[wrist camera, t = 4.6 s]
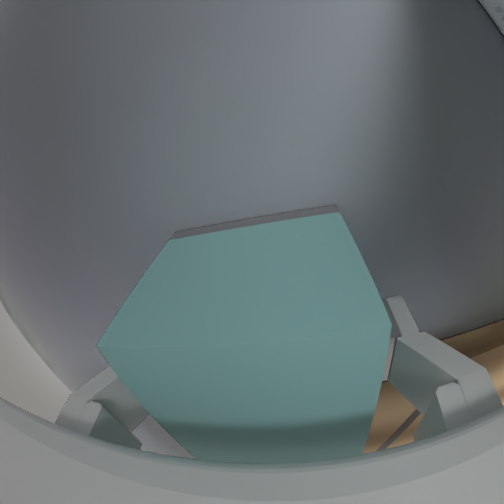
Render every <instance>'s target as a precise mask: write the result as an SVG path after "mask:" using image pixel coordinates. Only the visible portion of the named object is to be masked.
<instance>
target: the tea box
mask: <svg viewBox="0 0 504 504" xmlns="http://www.w3.org/2000/svg"><path fill="white" fill-rule="evenodd" d="M479 1H480V3H481V4H482V5H483V6H484V8H485V9H486V10H487V12H488V13H489V15H490V16H491V17H492V19H493V20H494V22H495V23H496V25H497V26H498V28H499V29H500V31H501V32H502V34H503V35H504V0H479Z"/></svg>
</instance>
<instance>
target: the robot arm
mask: <svg viewBox="0 0 504 504" xmlns="http://www.w3.org/2000/svg"><path fill="white" fill-rule="evenodd" d="M382 302H383V304H384V306H385V309H386V311H387V314H388V316H389V319H390V321H391V324H392V326H391V334H390V340H389V347H388V353H387V358H386V364H385V369H384V374H383V379H382V381H385V380H388V382H389V383H390V384H391V385H392V386H393V387H394V388H395V389H397V390H398V391H399V392H400V393H401V394H402V395H403V396H404V397H405V398H406V399H407V400H408V401H409V402H410V403H411V404H412V405H413V406H414V407H415V408H416V409H417V410H418V411H420V412H421V413H422V414H423V415H424V416H423V418H422V420H421V421H420V423H419V425H418V427H417V428H416V430H415V432H414V433H413V438H414V442H412V443H408V444H404V445H401V446H397V447H393V448H388V449H384V450H380V451H375V452H370V453H365V454H360V455H354V456H348V457H341V458H334V459H325V460H316V461H304V462H288V463H234V462H218V461H207V460H197V459H189V458H182V457H175V456H169V455H163V454H157V453H152V452H147V451H143V450H140V448H141V445H142V444H141V442H140V440H139V439H137V438H136V437H135V436H134V435H133V434H132V432H133V430H134V429H135V428H136V427H137V426H138V425H139V424H140V423H141V422H142V421H143V420H144V419H145V418H146V417H147V416H148V415H149V414H150V413H149V412H148V411H147V410H146V409H145V408H144V407H143V406H142V404H141V403H140V402H139V401H138V400H137V399H136V398H135V396H134V395H133V394H132V393H131V392H130V390H129V389H128V388H127V387H126V386H125V384H124V383H123V382H122V381H121V379H120V378H119V377H118V376H117V374H116V373H115V372H114V370H113V369H112V368H111V367H110V366H108V367H107V368H106V369H104V370H103V371H102V372H100V373H99V374H98V375H96V376H95V377H93V378H92V379H91V380H89V381H88V382H87V383H85V384H84V385H83V386H81V387H80V388H78V389H77V390H76V391H74V392H73V393H72V394H70V396H69V397H68V399H67V401H66V403H65V405H64V407H63V408H62V410H61V412H60V414H59V416H58V418H57V420H56V422H55V423H53V422H50V421H48V420H46V419H43V418H41V417H39V416H37V415H34V414H32V413H30V412H28V411H26V410H24V409H22V408H20V407H18V406H16V405H14V404H12V403H10V402H9V401H7V400H5V399H3V398H1V397H0V504H504V406H503V404H502V402H501V400H500V397H499V395H498V393H497V390H496V388H495V386H494V384H493V382H492V380H491V378H490V375H489V373H488V371H487V369H486V368H484V367H483V366H481V365H480V364H478V363H476V362H475V361H473V360H471V359H470V358H468V357H467V356H465V355H463V354H462V353H460V352H458V351H457V350H455V349H453V348H452V347H450V346H448V345H447V344H445V343H443V342H442V341H440V340H438V339H437V338H435V337H433V336H432V335H430V334H428V333H427V332H425V331H424V332H420V331H419V329H418V327H417V325H416V323H415V321H414V319H413V317H412V315H411V313H410V311H409V309H408V307H407V305H406V303H405V301H404V299H403V297H402V296H401V295H397V296H393V297H388V298H384V299H382Z"/></svg>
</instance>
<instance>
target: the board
mask: <svg viewBox="0 0 504 504" xmlns="http://www.w3.org/2000/svg"><path fill="white" fill-rule="evenodd" d="M440 341H442V342H443V343H445V344H447V345H448V346H450V347H452V348H453V349H455V350H457V351H458V352H460V353H462V354H463V355H465V356H467V357H468V358H470V359H471V360H473V361H475V362H476V363H478V364H480V365H481V366H483V367H484V368H486V369H487V371H488V373H489V375H490V378H491V380H492V382H493V384H494V386H495V388H496V390H497V393H498V395H499V397H500V400H501V402H502V404H503V406H504V319H503V320H500V321H498V322H495V323H492V324H490V325H487V326H484V327H481V328H478V329H476V330H473V331H470V332H467V333H463V334H460V335H457V336H454V337H450V338H447V339H444V340H440ZM423 416H424V415H423V414H422V413H421V412H420V411H418V410H417V409H416V408H415V407H414V406H413V405H412V404H411V403H410V402H409V401H408V400H407V399H406V398H405V397H404V396H403V395H402V394H401V393H400V392H399V391H398V390H397V389H395V388H394V387H393V386H392V385H391V384H390V383H389V382H388V380H385V381H382V383H381V388H380V392H379V397H378V401H377V405H376V409H375V413H374V417H373V420H372V424H371V427H370V431H369V434H368V438H367V441H366V444H365V447H364V450H363V453H362V454H365V453H370V452H375V451H380V450H384V449H388V448H393V447H397V446H401V445H404V444H408V443H412V442H414V438H413V433H414V432H415V430H416V428H417V427H418V425H419V423H420V421H421V420H422V418H423Z"/></svg>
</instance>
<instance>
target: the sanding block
mask: <svg viewBox="0 0 504 504" xmlns="http://www.w3.org/2000/svg"><path fill="white" fill-rule="evenodd" d="M391 326H392V324H391V321H390V319H389V316H388V314H387V311H386V309H385V306H384V304H383V302H382V299H381V297H380V295H379V292H378V290H377V288H376V286H375V283H374V281H373V279H372V277H371V274H370V272H369V270H368V268H367V266H366V264H365V261H364V259H363V257H362V255H361V253H360V251H359V249H358V247H357V245H356V243H355V241H354V239H353V237H352V235H351V233H350V231H349V229H348V227H347V225H346V223H345V221H344V219H343V217H342V215H341V214H340V212H339V210H338V208H337V206H336V205H330V206H324V207H317V208H310V209H304V210H297V211H291V212H285V213H278V214H272V215H266V216H260V217H254V218H249V219H243V220H237V221H231V222H226V223H220V224H215V225H209V226H204V227H199V228H193V229H188V230H183V231H178V232H175V233H174V234H173V236H172V237H171V238H170V240H169V241H168V242H167V244H166V245H165V246H164V248H163V249H162V250H161V252H160V253H159V254H158V256H157V257H156V258H155V260H154V261H153V262H152V264H151V265H150V267H149V268H148V269H147V271H146V272H145V273H144V275H143V276H142V278H141V279H140V281H139V282H138V283H137V285H136V286H135V288H134V289H133V291H132V292H131V293H130V295H129V296H128V298H127V299H126V301H125V302H124V304H123V305H122V307H121V308H120V310H119V311H118V313H117V314H116V316H115V317H114V319H113V320H112V322H111V323H110V325H109V326H108V328H107V329H106V331H105V332H104V334H103V336H102V337H101V339H100V340H99V342H98V344H97V345H96V347H97V349H98V350H99V352H100V353H101V354H102V356H103V357H104V358H105V360H106V361H107V363H108V364H109V365H110V367H111V368H112V369H113V370H114V372H115V373H116V374H117V376H118V377H119V378H120V379H121V381H122V382H123V383H124V384H125V386H126V387H127V388H128V389H129V390H130V392H131V393H132V394H133V395H134V396H135V398H136V399H137V400H138V401H139V402H140V403H141V404H142V406H143V407H144V408H145V409H146V410H147V411H148V412H149V413H150V414H151V415H152V417H153V418H154V419H155V420H156V421H157V422H158V423H159V424H160V425H161V426H162V427H163V428H164V429H165V430H166V431H167V432H168V433H169V434H170V435H171V436H172V437H173V438H174V439H175V440H176V441H177V442H178V443H179V444H180V445H181V446H182V447H184V448H185V449H186V450H187V451H188V452H189V453H190V454H191V455H192V456H193V457H195V458H196V459H197V460H207V461H218V462H234V463H288V462H304V461H316V460H325V459H334V458H341V457H348V456H354V455H360V454H362V453H363V450H364V447H365V444H366V441H367V438H368V434H369V431H370V427H371V424H372V420H373V417H374V413H375V409H376V405H377V401H378V397H379V392H380V388H381V383H382V379H383V374H384V369H385V364H386V358H387V353H388V347H389V340H390V334H391Z"/></svg>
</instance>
